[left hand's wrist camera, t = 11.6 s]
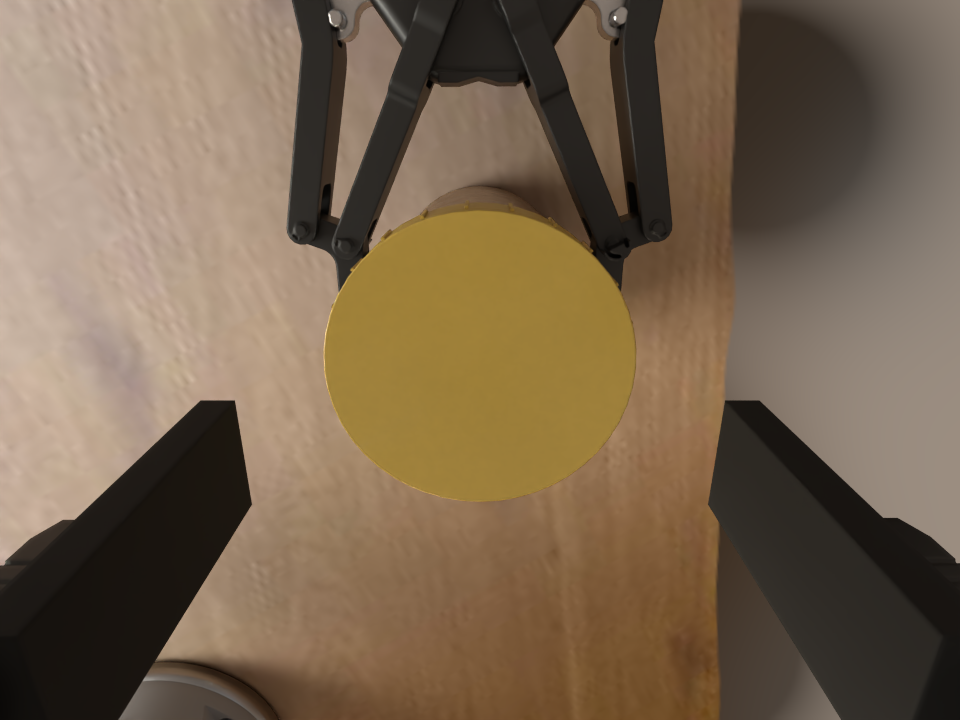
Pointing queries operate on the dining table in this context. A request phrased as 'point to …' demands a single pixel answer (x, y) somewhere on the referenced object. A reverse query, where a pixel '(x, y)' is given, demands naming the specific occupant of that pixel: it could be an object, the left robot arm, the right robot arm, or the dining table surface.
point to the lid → (479, 353)
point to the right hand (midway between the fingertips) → (480, 389)
